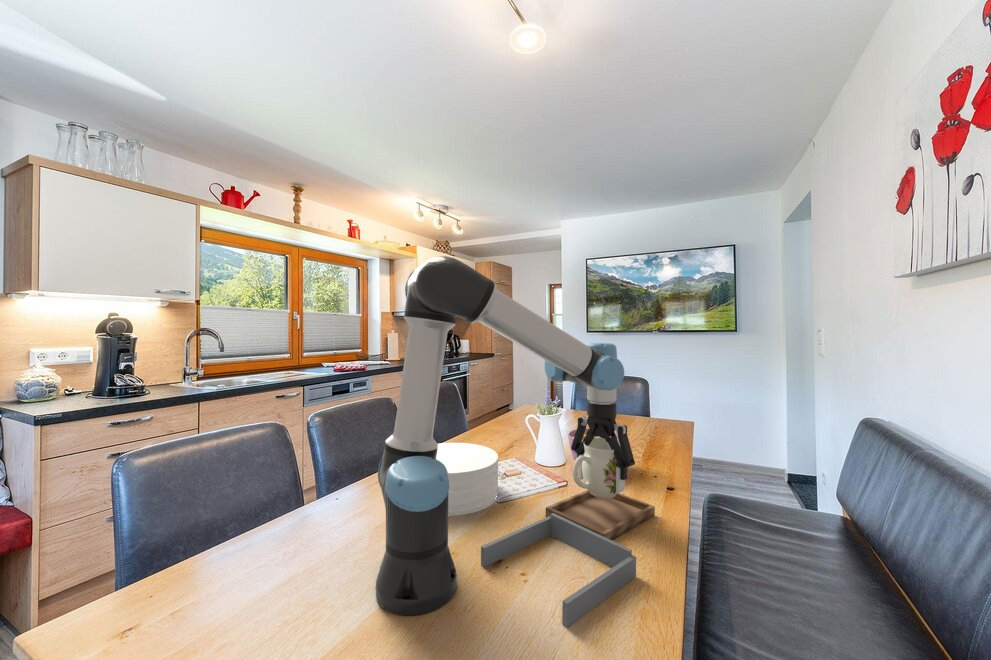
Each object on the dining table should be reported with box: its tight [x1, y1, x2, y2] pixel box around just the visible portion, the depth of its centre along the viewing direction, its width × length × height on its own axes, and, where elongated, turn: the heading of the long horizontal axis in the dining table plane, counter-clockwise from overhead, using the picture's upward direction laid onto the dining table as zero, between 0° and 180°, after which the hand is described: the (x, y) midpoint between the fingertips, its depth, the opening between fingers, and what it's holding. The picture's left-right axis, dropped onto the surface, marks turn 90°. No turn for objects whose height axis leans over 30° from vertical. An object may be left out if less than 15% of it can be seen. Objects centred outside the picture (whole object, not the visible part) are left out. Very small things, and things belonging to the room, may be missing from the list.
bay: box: [480, 513, 637, 628], centre depth 84 cm, size 22×23×5 cm
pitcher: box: [572, 437, 621, 498], centre depth 108 cm, size 11×18×14 cm, turn 119°
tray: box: [545, 489, 656, 541], centre depth 108 cm, size 23×18×2 cm
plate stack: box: [436, 442, 499, 517], centre depth 121 cm, size 28×28×12 cm
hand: (600, 484), depth 108 cm, fingers closed on pitcher, 11 cm apart
